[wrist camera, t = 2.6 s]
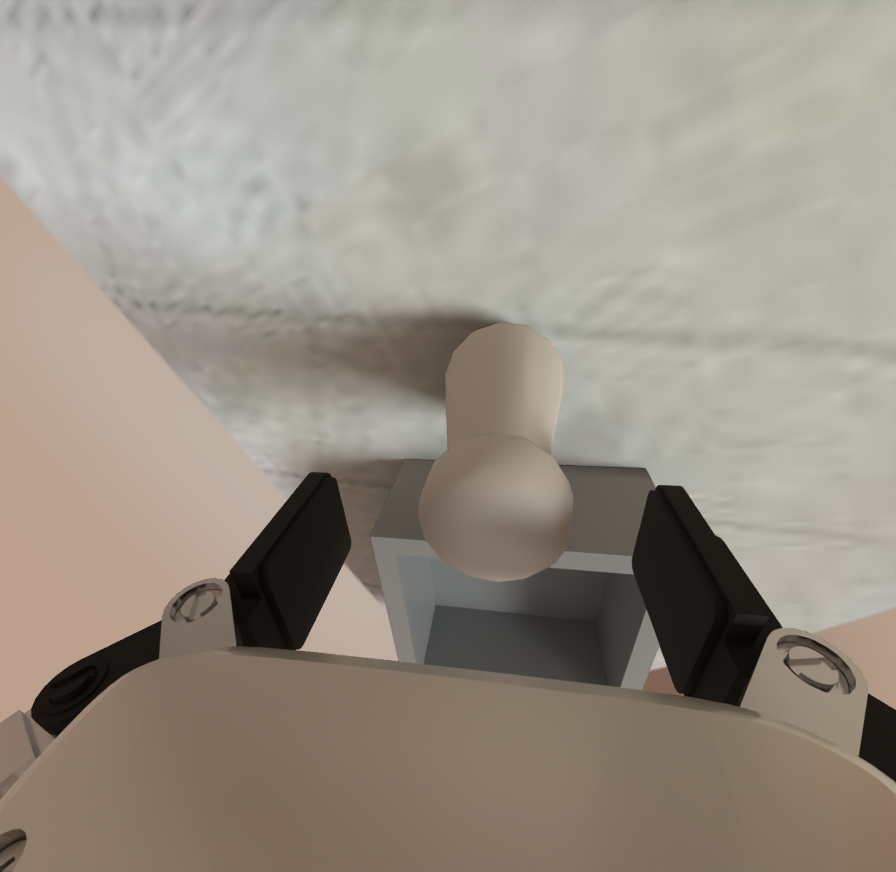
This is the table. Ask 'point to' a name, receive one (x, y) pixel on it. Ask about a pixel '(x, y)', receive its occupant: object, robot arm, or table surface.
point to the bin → (525, 590)
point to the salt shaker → (500, 459)
